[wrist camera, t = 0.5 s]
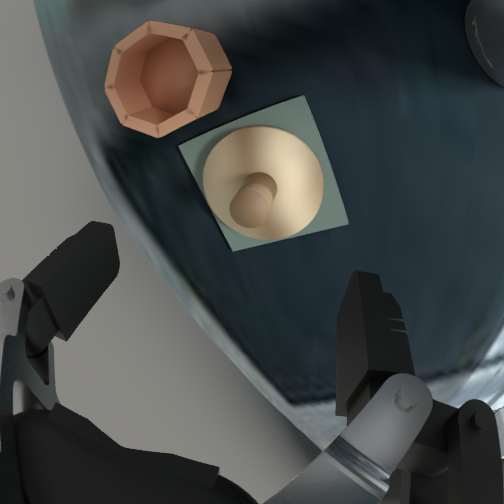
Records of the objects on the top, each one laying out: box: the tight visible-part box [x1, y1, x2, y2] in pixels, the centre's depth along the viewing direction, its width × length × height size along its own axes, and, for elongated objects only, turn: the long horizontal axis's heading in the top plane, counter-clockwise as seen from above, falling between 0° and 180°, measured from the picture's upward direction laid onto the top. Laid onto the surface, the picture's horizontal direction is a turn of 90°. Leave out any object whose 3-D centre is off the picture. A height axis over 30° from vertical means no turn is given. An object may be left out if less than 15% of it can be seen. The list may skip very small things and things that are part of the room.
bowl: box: [104, 21, 232, 138], centre depth 20 cm, size 9×9×4 cm
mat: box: [178, 95, 348, 251], centre depth 26 cm, size 12×12×1 cm
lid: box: [203, 125, 323, 240], centre depth 24 cm, size 10×10×6 cm
